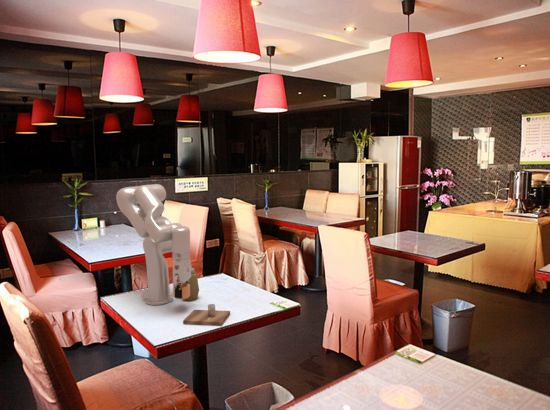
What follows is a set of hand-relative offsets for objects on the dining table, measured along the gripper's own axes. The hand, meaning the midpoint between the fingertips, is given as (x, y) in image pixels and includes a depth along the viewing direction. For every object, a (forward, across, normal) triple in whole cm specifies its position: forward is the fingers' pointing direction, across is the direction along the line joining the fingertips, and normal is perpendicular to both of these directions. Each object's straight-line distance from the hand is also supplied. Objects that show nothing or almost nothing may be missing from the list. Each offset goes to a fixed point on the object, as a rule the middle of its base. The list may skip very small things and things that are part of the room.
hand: (181, 294), depth 181 cm
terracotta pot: (+1, 0, 0) cm, 1 cm away
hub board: (+6, -9, -15) cm, 18 cm away
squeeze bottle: (+8, +14, +1) cm, 16 cm away
